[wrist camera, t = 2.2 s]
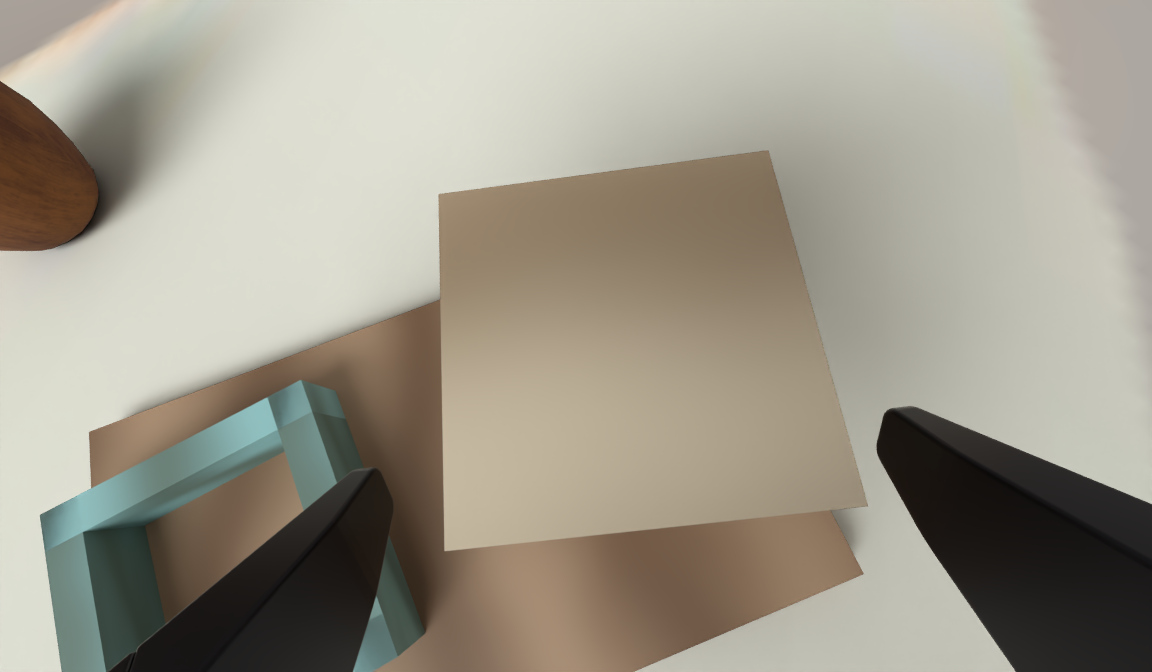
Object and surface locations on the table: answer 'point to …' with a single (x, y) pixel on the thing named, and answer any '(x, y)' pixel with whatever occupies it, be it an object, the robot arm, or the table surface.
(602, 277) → the birch block
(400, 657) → the brown board with frame
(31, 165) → the wooden figurine
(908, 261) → the table surface
